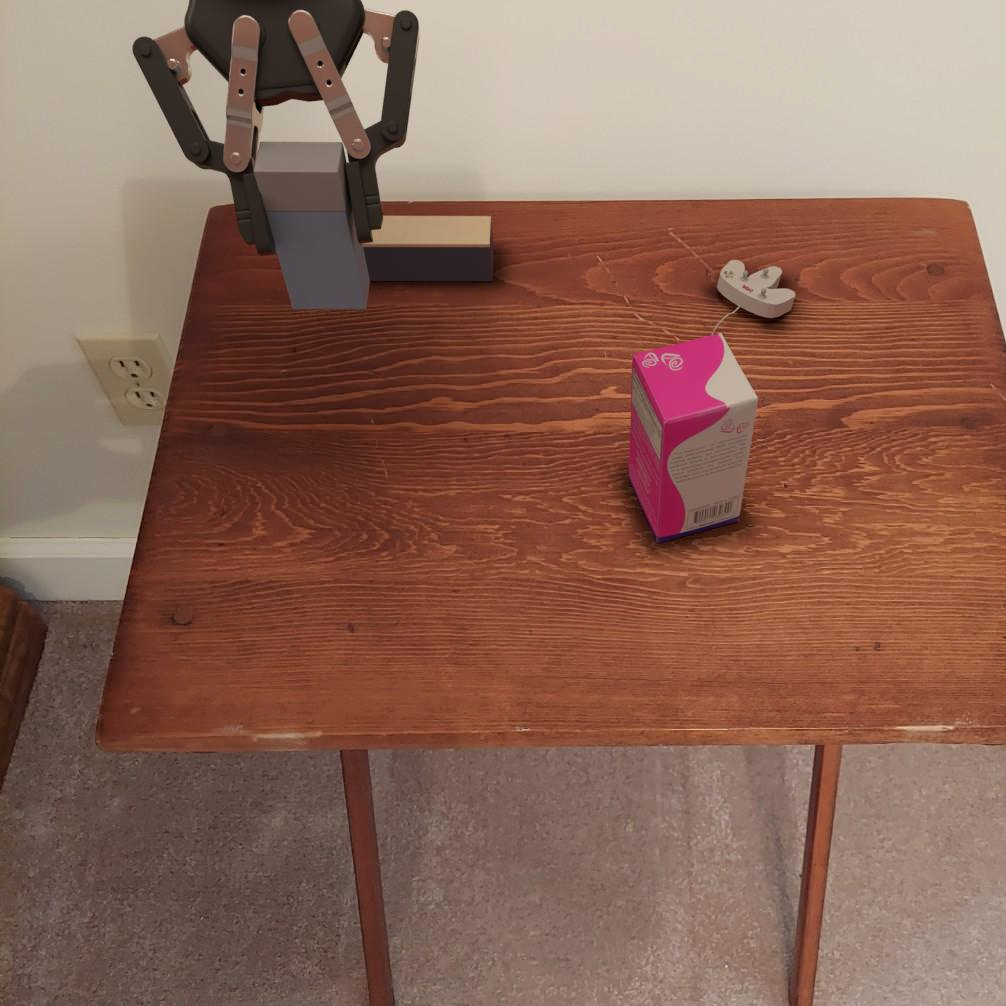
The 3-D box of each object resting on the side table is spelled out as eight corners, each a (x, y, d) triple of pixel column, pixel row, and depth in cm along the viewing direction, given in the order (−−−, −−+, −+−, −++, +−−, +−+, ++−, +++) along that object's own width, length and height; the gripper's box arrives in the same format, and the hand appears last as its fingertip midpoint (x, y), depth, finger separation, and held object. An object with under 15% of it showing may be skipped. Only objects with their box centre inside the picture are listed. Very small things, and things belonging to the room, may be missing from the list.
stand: (356, 281, 87) (348, 243, 84) (360, 253, 88) (352, 215, 85) (492, 281, 87) (489, 244, 84) (494, 253, 88) (491, 215, 85)
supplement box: (707, 454, 78) (724, 328, 69) (740, 522, 75) (764, 401, 66) (624, 475, 77) (630, 350, 68) (655, 545, 74) (666, 425, 65)
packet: (292, 310, 64) (252, 171, 56) (297, 280, 65) (259, 140, 57) (366, 310, 64) (337, 171, 56) (370, 281, 65) (342, 141, 57)
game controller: (802, 286, 87) (808, 259, 85) (754, 395, 81) (759, 369, 79) (729, 265, 88) (733, 238, 86) (677, 372, 82) (680, 345, 80)
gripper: (404, -114, 59) (456, 237, 63) (114, -89, 58) (186, 269, 62) (400, -176, 52) (459, 225, 56) (69, -149, 51) (153, 261, 55)
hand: (315, 246), depth 59 cm, fingers closed on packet, 4 cm apart
